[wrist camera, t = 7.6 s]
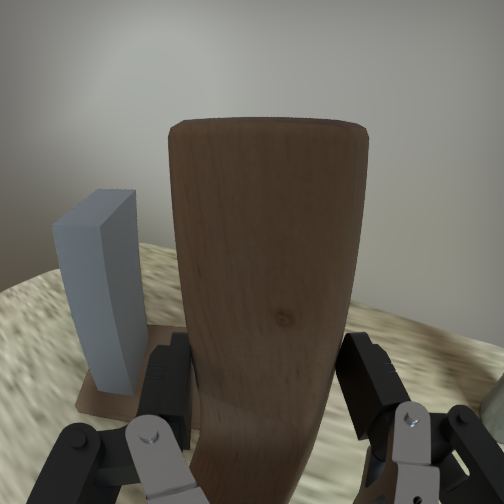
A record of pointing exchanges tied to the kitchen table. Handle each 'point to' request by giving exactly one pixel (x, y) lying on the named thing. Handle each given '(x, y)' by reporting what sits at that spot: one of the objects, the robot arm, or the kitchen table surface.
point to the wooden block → (264, 288)
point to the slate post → (105, 286)
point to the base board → (128, 405)
